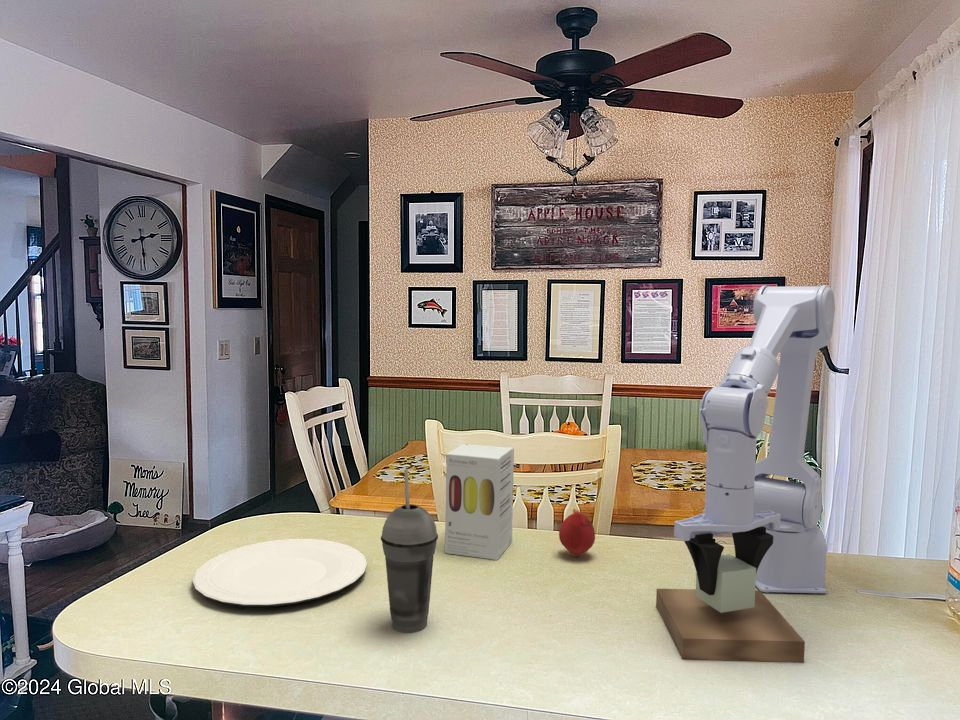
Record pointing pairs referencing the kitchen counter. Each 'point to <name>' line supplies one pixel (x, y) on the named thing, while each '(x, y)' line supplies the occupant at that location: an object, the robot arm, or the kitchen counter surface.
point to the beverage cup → (409, 563)
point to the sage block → (731, 586)
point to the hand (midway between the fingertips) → (725, 589)
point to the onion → (577, 533)
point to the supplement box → (479, 500)
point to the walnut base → (728, 629)
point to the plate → (279, 572)
